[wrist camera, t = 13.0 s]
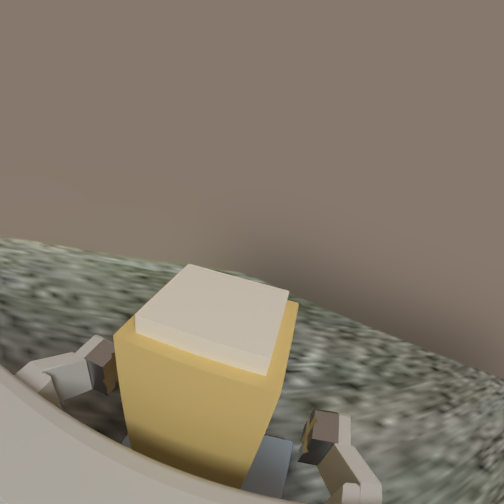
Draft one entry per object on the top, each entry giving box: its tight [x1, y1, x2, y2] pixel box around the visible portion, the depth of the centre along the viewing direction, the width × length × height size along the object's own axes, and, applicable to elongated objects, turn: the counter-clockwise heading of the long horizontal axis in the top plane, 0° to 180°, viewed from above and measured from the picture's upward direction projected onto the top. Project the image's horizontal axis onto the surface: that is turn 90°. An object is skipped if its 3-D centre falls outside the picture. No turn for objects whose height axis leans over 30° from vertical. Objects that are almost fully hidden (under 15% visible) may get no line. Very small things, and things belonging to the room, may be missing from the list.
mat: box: [121, 434, 293, 499], centre depth 14 cm, size 10×10×1 cm
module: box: [113, 264, 299, 489], centre depth 11 cm, size 4×4×13 cm
